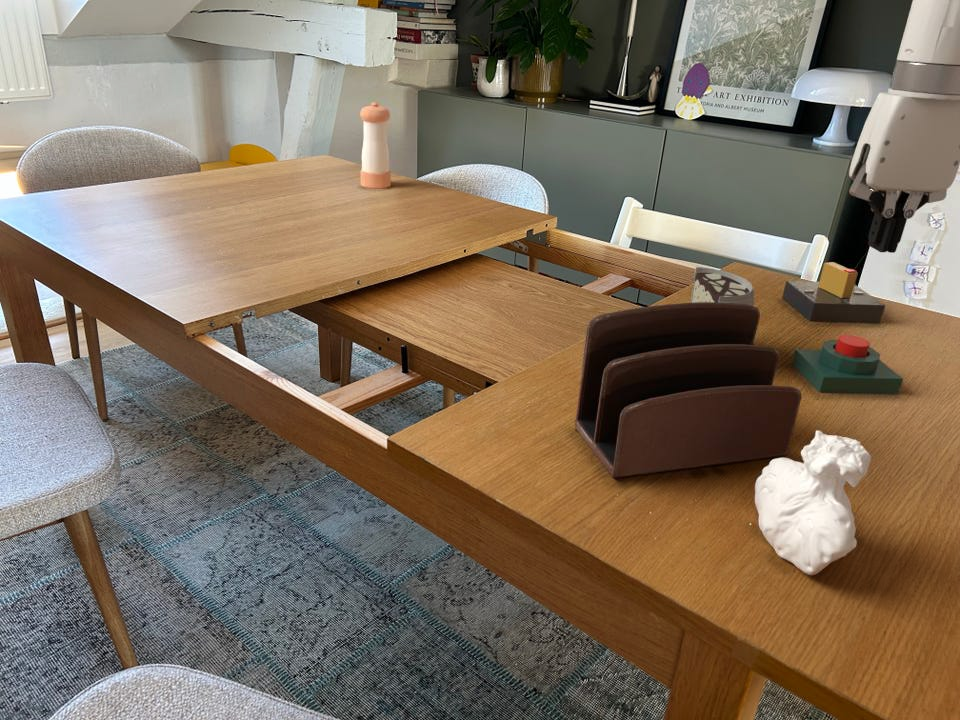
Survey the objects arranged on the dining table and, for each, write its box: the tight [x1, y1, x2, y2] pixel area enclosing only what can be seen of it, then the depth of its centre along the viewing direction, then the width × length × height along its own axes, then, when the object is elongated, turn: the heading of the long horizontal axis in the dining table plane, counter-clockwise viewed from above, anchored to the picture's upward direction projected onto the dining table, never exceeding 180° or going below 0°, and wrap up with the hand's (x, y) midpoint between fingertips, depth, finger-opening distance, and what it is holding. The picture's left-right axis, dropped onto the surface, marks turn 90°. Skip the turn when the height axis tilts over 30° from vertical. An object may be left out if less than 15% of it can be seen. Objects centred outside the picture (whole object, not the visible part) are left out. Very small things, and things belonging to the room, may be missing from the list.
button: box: [835, 334, 871, 358], centre depth 91 cm, size 4×4×2 cm
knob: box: [818, 261, 859, 298], centre depth 113 cm, size 5×2×4 cm, turn 17°
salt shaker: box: [359, 101, 392, 189], centre depth 175 cm, size 7×7×19 cm
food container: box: [690, 266, 755, 307], centre depth 96 cm, size 12×6×10 cm, turn 179°
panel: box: [781, 280, 886, 324], centre depth 115 cm, size 11×10×3 cm
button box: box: [791, 339, 904, 395], centre depth 92 cm, size 10×8×4 cm
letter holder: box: [574, 302, 802, 479], centre depth 74 cm, size 10×20×14 cm, turn 106°
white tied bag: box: [754, 429, 872, 576], centre depth 61 cm, size 12×8×11 cm
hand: (881, 248), depth 86 cm, fingers closed
